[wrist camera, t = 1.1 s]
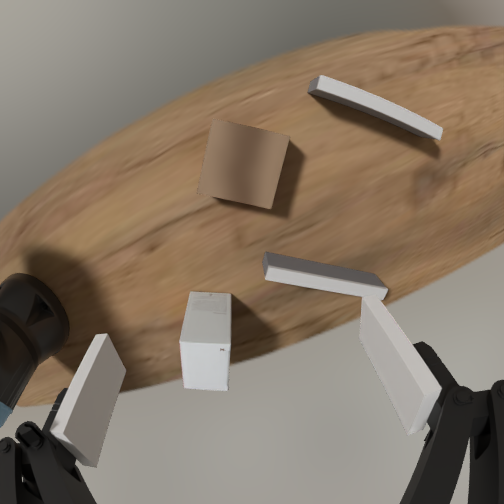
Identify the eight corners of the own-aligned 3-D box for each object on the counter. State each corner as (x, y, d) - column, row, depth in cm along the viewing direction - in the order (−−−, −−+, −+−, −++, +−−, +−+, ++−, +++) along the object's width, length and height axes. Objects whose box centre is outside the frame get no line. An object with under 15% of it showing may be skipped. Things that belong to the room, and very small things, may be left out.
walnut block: (201, 186, 35) (196, 193, 31) (215, 119, 32) (212, 118, 28) (267, 200, 36) (270, 209, 32) (284, 135, 33) (290, 136, 29)
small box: (190, 289, 40) (178, 339, 30) (232, 292, 40) (231, 343, 31) (191, 336, 43) (182, 389, 33) (229, 338, 43) (228, 392, 34)
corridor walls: (262, 262, 39) (265, 279, 35) (310, 80, 30) (320, 74, 26) (370, 283, 41) (383, 300, 37) (423, 126, 32) (443, 128, 28)
